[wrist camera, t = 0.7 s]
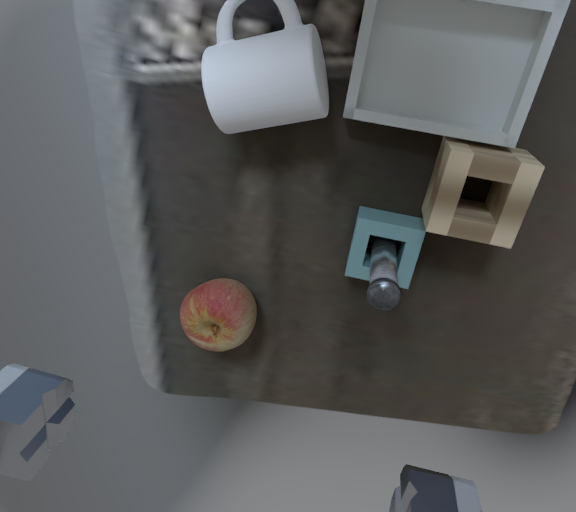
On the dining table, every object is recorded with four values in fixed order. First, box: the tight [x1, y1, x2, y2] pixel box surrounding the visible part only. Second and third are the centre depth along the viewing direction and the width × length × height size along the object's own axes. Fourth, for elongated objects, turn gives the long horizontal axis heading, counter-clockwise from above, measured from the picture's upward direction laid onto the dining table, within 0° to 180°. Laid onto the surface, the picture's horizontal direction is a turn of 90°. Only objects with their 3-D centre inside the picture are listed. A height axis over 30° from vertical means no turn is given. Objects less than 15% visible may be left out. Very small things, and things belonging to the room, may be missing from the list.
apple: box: [180, 278, 257, 351], centre depth 56 cm, size 9×9×8 cm
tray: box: [343, 0, 571, 148], centre depth 41 cm, size 12×16×3 cm
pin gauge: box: [367, 235, 401, 310], centre depth 47 cm, size 3×3×12 cm
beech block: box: [421, 136, 545, 249], centre depth 44 cm, size 8×8×6 cm
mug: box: [201, 0, 329, 134], centre depth 42 cm, size 12×10×8 cm
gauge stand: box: [345, 206, 426, 289], centre depth 50 cm, size 7×7×4 cm
